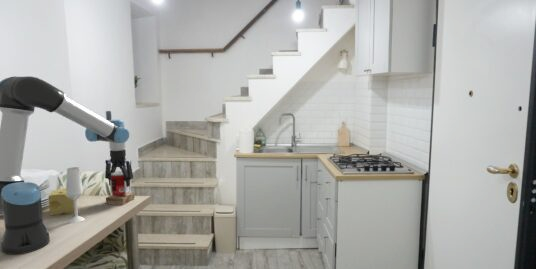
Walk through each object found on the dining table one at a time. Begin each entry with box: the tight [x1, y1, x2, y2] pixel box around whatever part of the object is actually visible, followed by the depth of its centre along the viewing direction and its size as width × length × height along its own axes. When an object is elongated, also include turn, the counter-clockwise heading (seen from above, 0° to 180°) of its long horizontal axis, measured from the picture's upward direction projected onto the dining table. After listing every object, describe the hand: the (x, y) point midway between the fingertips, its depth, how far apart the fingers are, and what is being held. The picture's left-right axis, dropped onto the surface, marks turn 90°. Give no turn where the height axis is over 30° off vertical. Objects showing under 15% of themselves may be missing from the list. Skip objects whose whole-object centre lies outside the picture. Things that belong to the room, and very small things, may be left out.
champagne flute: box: [65, 166, 86, 224], centre depth 154 cm, size 7×7×24 cm
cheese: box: [48, 188, 75, 216], centre depth 167 cm, size 10×11×10 cm
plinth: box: [105, 192, 135, 206], centre depth 182 cm, size 10×10×3 cm
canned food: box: [111, 170, 126, 195], centre depth 181 cm, size 8×8×11 cm
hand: (119, 191), depth 182 cm, fingers closed on canned food, 8 cm apart
